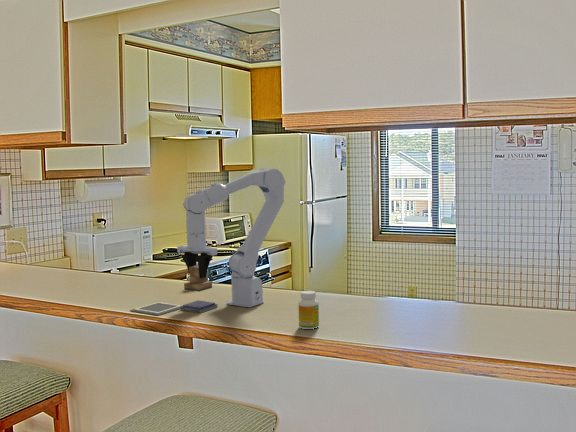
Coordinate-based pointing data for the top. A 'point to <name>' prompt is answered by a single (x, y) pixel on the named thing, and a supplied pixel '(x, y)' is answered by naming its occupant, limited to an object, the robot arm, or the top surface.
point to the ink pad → (199, 306)
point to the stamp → (197, 281)
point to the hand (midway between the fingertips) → (197, 277)
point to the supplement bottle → (308, 310)
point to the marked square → (157, 308)
